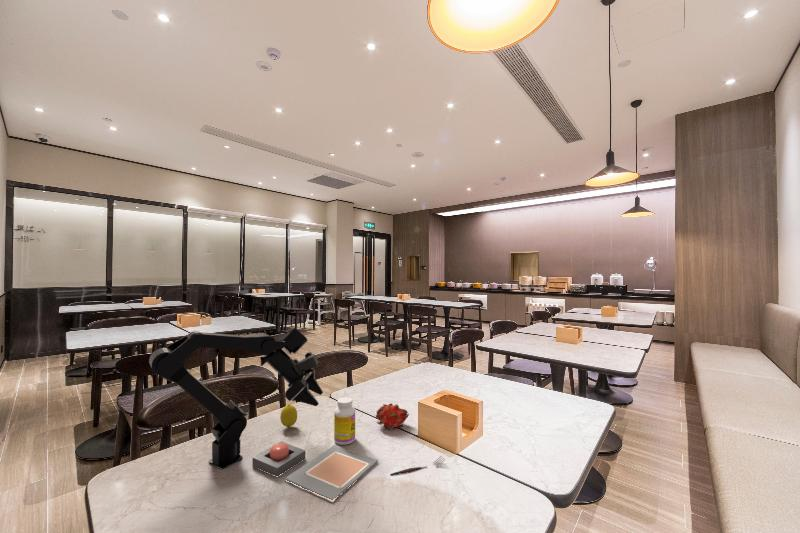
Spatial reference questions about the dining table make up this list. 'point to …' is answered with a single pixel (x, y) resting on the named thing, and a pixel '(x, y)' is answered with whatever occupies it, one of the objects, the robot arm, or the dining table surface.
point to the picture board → (332, 471)
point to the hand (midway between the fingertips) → (319, 399)
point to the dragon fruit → (391, 416)
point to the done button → (279, 451)
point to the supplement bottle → (344, 422)
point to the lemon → (288, 415)
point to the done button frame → (279, 467)
